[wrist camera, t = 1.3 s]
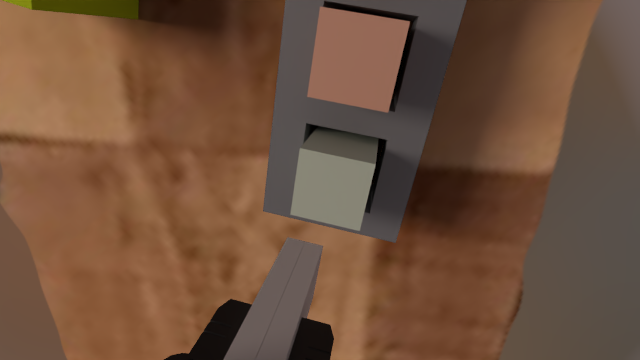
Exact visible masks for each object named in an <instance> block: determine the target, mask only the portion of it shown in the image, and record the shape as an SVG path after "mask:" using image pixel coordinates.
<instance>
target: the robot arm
mask: <svg viewBox="0 0 640 360" xmlns="http://www.w3.org/2000/svg"><path fill="white" fill-rule="evenodd" d="M322 248H323V246H321V245H317V244H313V243H309V242H305V241H301V240H297V239H293V238H289V237H288V238H287V239H286V241H285V243H284V245H283V247H282V249H281V251H280V253H279V255H278V257H277V259H276V260H275V262H274V264H273V266H272V268H271V270H270V272H269V274H268V276H267V278H266V279H265V281H264V283H263V285H262V287H261V289H260V291H259V293H258V295H257V297H256V299H255V300H254V302H253V304H252V305H251V304H248V303H244V302H240V301H237V300H233V299H230V300H229V301H227V302H226V303H225V304H223V305H222V306H220V307H219V308H218V309H217V311H216V313H215V314H214V316H213V317H212V319H211V321H210V322H209V323H208V325H207V326H206V328H205V330H204V332H203V333H202V334H201V336H200V337H199V339H198V340H197V342H196V343H195V345H194V347H193V348H192V350H191V351H190V353H189V354H186V353H181V354H176V355H171V356H170V357H168V358H166V359H164V360H330V356H331V351H332V346H333V340H334V337H333V334H332V330H331V326H330V325H329V324H325V323H321V322H318V321H314V320H310V319H307V315H308V312H309V309H310V305H311V302H312V299H313V294H314V289H315V284H316V279H317V274H318V269H319V264H320V259H321V254H322Z"/></svg>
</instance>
